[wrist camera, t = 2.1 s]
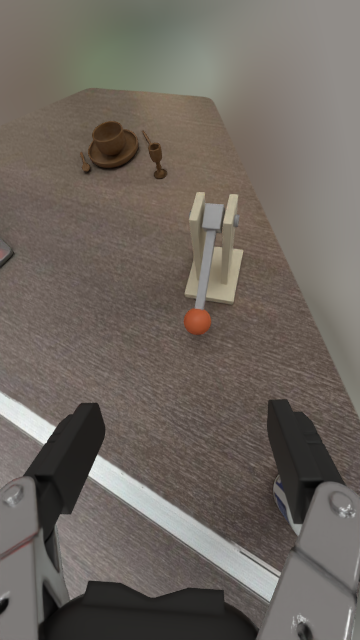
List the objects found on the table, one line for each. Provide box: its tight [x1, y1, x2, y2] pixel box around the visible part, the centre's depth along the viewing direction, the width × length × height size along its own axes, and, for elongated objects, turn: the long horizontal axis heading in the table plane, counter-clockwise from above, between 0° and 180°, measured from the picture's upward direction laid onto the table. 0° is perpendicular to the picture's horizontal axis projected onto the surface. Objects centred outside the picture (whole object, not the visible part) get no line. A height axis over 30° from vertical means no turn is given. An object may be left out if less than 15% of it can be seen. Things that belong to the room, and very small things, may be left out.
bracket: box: [185, 192, 243, 305], centre depth 35 cm, size 10×8×15 cm
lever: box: [184, 203, 225, 335], centre depth 31 cm, size 16×4×4 cm
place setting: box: [80, 121, 167, 179], centre depth 54 cm, size 18×20×6 cm
